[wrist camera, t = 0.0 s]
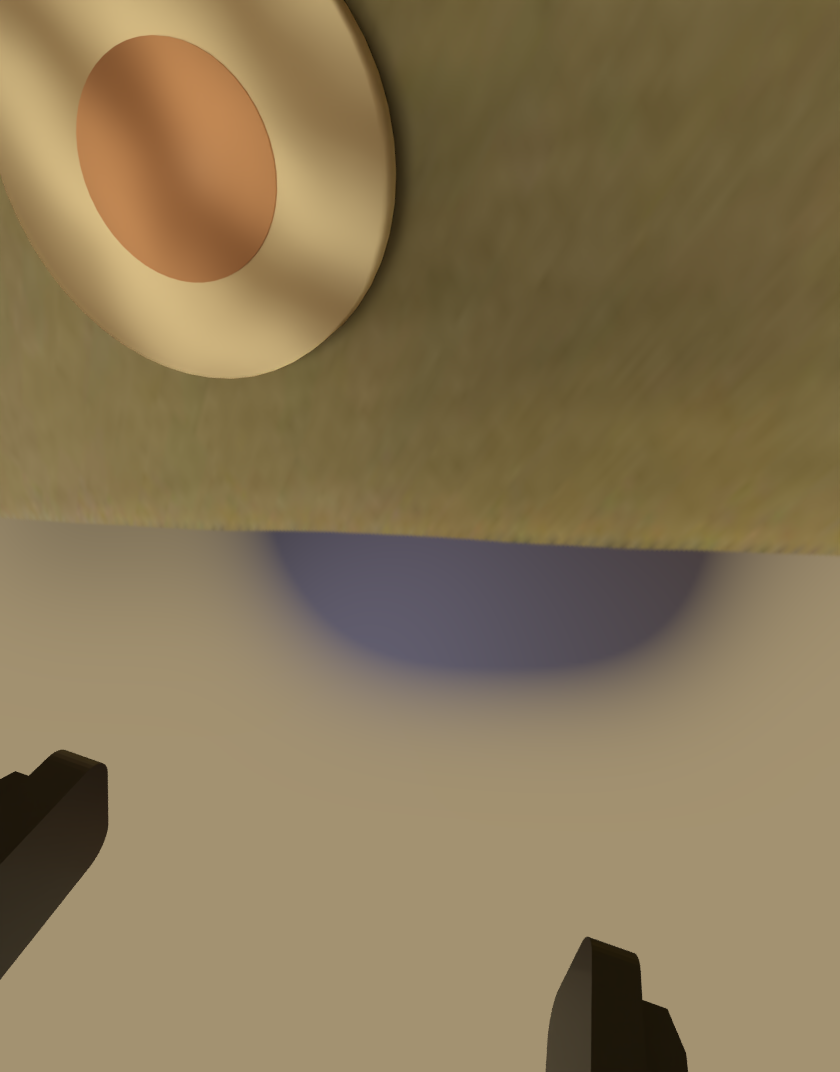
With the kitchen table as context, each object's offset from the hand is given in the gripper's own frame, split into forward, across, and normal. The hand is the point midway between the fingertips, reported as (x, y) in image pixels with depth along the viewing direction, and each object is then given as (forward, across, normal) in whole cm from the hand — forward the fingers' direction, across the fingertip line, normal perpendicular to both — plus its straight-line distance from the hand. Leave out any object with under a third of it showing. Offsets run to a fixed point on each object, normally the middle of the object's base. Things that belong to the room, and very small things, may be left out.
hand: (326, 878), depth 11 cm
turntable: (+21, +14, -9) cm, 27 cm away
